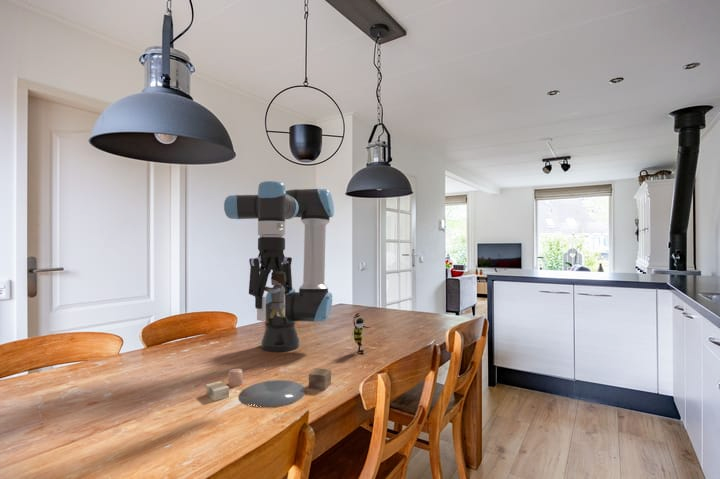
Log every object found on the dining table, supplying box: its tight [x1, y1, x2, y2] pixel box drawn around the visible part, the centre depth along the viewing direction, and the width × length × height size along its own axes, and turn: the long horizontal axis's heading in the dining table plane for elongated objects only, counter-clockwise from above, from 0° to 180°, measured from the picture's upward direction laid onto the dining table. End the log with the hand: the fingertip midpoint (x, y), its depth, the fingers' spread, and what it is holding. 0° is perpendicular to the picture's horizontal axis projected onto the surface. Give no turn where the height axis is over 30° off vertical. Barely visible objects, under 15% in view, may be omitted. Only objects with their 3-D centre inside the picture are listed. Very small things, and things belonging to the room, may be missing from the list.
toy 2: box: [351, 312, 371, 355], centre depth 144 cm, size 7×8×15 cm
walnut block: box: [308, 368, 332, 391], centre depth 109 cm, size 5×5×5 cm
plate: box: [238, 379, 306, 408], centre depth 104 cm, size 18×18×1 cm
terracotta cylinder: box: [227, 368, 244, 388], centre depth 110 cm, size 4×4×5 cm
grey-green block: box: [205, 380, 230, 402], centre depth 102 cm, size 6×4×4 cm, turn 42°
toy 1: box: [264, 271, 288, 326], centre depth 104 cm, size 8×10×15 cm
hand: (271, 318), depth 105 cm, fingers open, 6 cm apart
